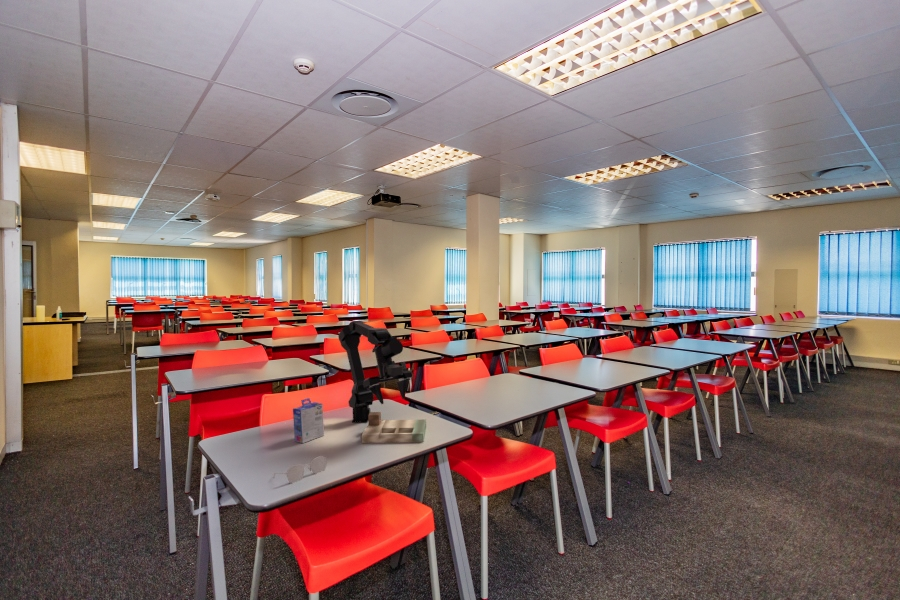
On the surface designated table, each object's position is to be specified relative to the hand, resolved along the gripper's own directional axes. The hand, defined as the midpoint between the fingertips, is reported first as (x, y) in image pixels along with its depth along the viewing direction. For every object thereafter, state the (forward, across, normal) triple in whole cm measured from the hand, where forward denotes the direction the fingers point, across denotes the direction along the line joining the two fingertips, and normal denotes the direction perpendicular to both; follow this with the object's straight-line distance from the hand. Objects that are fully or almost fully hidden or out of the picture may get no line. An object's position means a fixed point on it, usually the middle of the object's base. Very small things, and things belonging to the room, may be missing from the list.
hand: (393, 401), depth 158 cm
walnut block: (+6, -3, +12) cm, 14 cm away
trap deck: (+12, +1, +5) cm, 13 cm away
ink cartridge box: (+5, -25, +23) cm, 34 cm away
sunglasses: (+15, -38, -3) cm, 41 cm away
